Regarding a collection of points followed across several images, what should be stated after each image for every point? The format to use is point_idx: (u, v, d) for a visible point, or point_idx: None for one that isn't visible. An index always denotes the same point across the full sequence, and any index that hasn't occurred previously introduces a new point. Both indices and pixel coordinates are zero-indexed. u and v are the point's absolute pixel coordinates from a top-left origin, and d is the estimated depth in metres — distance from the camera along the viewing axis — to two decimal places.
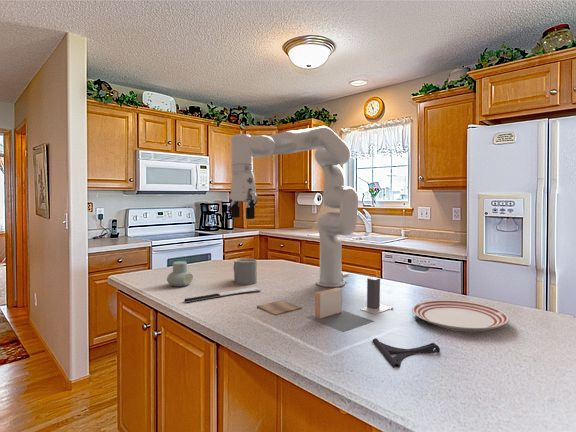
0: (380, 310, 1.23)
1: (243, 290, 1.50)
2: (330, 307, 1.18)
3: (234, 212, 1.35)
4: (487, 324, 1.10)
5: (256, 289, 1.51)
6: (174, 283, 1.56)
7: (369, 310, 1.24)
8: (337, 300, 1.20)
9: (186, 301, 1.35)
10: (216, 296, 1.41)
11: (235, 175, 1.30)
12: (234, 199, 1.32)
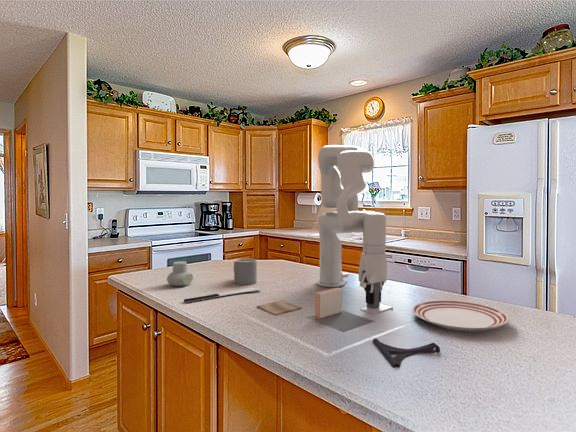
0: (380, 310, 1.23)
1: (242, 290, 1.50)
2: (330, 307, 1.18)
3: None
4: (487, 324, 1.10)
5: (255, 289, 1.51)
6: (174, 283, 1.56)
7: (368, 309, 1.24)
8: (337, 300, 1.20)
9: (185, 301, 1.35)
10: (215, 296, 1.41)
11: (379, 256, 1.23)
12: (374, 281, 1.23)
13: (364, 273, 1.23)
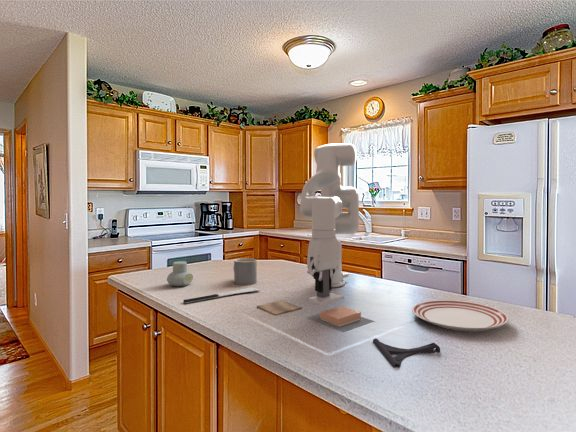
0: (329, 298, 1.18)
1: (242, 290, 1.50)
2: None
3: None
4: (487, 324, 1.10)
5: (255, 289, 1.51)
6: (174, 283, 1.56)
7: (317, 298, 1.18)
8: None
9: (185, 302, 1.34)
10: (215, 297, 1.40)
11: (327, 241, 1.18)
12: (323, 268, 1.18)
13: (312, 260, 1.18)
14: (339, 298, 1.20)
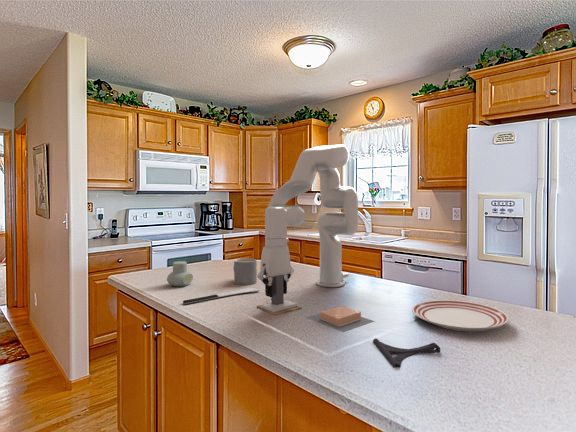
0: (282, 306, 1.24)
1: (241, 291, 1.49)
2: None
3: None
4: (487, 324, 1.10)
5: (254, 290, 1.50)
6: (174, 283, 1.56)
7: (271, 306, 1.25)
8: None
9: (185, 303, 1.33)
10: (215, 297, 1.40)
11: (279, 249, 1.25)
12: (274, 274, 1.25)
13: None
14: (292, 306, 1.26)
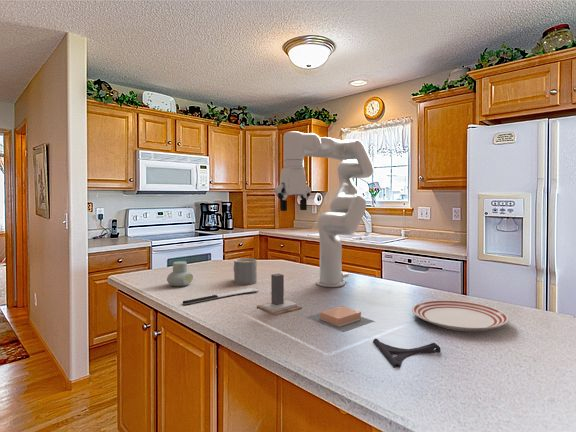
0: (282, 306, 1.24)
1: (240, 291, 1.49)
2: None
3: None
4: (487, 324, 1.10)
5: (253, 290, 1.50)
6: (174, 283, 1.56)
7: (271, 306, 1.25)
8: None
9: (185, 303, 1.33)
10: (214, 298, 1.39)
11: (296, 170, 1.38)
12: (292, 192, 1.38)
13: None
14: (292, 306, 1.26)
